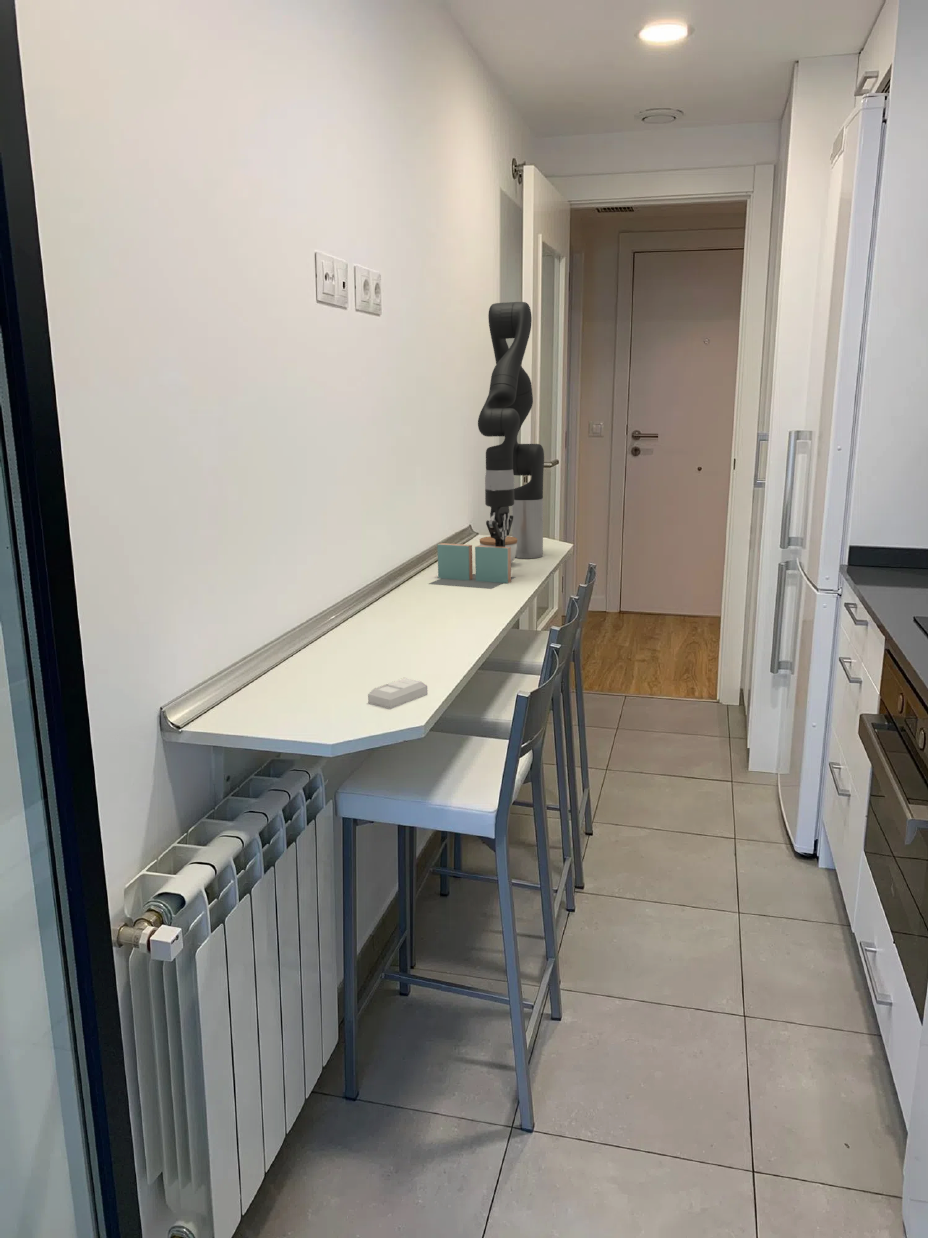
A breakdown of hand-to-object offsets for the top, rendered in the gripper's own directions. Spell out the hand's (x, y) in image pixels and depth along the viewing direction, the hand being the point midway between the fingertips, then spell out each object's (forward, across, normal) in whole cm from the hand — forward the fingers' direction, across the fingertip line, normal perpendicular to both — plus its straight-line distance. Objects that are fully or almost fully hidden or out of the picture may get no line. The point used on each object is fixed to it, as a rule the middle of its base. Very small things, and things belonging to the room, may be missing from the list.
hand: (500, 553), depth 248 cm
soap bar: (+8, +97, +24) cm, 100 cm away
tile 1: (+7, +5, -11) cm, 14 cm away
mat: (+7, +6, -6) cm, 11 cm away
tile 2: (+7, +5, 0) cm, 8 cm away
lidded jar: (+7, -18, -8) cm, 21 cm away
